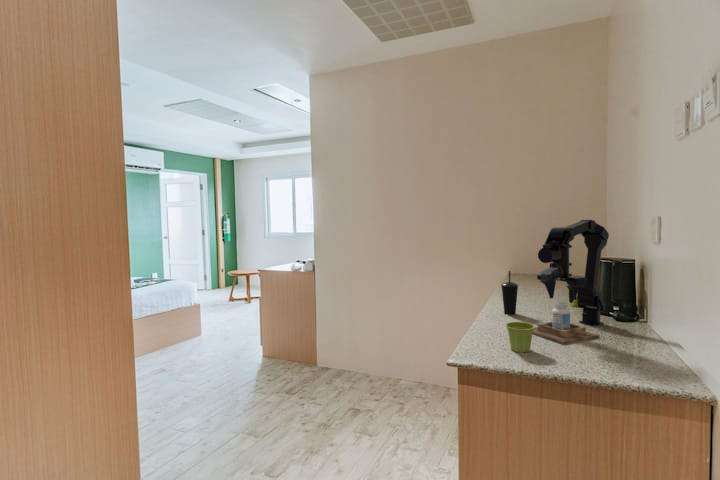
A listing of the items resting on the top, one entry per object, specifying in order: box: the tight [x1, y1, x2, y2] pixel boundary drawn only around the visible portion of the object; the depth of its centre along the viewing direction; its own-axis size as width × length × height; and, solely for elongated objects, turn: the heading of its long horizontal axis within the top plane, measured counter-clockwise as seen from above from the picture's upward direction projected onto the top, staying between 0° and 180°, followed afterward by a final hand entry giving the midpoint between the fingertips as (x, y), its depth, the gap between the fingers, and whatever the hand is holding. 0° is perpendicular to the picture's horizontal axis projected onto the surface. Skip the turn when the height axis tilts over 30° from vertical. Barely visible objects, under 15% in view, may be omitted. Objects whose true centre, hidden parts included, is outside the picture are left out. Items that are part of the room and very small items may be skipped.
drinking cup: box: [500, 270, 519, 316], centre depth 192 cm, size 8×8×20 cm
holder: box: [532, 321, 600, 345], centre depth 159 cm, size 18×18×4 cm
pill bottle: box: [551, 301, 571, 330], centre depth 159 cm, size 6×6×11 cm
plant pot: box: [505, 321, 536, 354], centre depth 143 cm, size 9×9×9 cm
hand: (561, 300), depth 160 cm, fingers open, 9 cm apart
